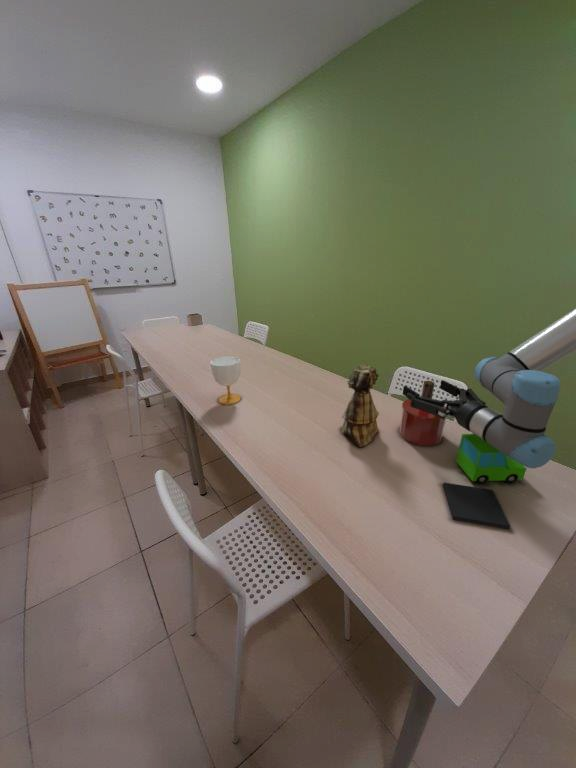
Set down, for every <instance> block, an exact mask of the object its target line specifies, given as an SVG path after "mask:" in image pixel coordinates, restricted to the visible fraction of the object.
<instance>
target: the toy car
mask: <svg viewBox="0 0 576 768" xmlns="http://www.w3.org/2000/svg"><path fill="white" fill-rule="evenodd" d="M455 462H456V463H457V465H459V467H460V468H461V470H462V471H463V472H464V473H465V474H466V475H467V477H468V478H469V479H470V480H471V481H472V482H476V483H477V484H478V485H483V484H485V483H487V482H494V481H505V483H506V484H513V483H515V482H516V481H518V480H523V479H524V476H525V474H526V472H527V469H528V467H525V466H524V465H521V464H520V463H518V462H516V461H514V460H512V459H510V458H509V457H508V456H507V455H505V454H504V453H502V452H501V451H499V450H498V449H496V448H495V447H493V446H492V445H490V444H488V443H487V442H486V441H484V440H483V439H481V438H479V437H478V436H476V435H475V434H473V433H462V434H461V438H460V442H459V446H458V450H457V454H456V458H455Z"/></svg>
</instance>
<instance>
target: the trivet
mask: <svg viewBox="0 0 576 768" xmlns="http://www.w3.org/2000/svg"><path fill="white" fill-rule="evenodd" d="M442 488H443V492H444V494H445V498H446V501H447V504H448V505H447V506H448V508H449V512H450V515H451V519H452V520H453V521H460V522H465V523H469V524H470V523H472V524H477V525H483V526H489V527H494V528H500V529H505V530H510V527H511V525H510V523H509V520H508V519H507V516H506V515H505V512H504V510H503V508H502V507H501V504H500V502H499V500H498V498H497V496H496V494H495V492H494V490H493V489H489V488H483V487H478V486H477V487H476V486H470V485H463V484H455V483H449V482H443V483H442Z"/></svg>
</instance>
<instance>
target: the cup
mask: <svg viewBox="0 0 576 768" xmlns="http://www.w3.org/2000/svg"><path fill="white" fill-rule="evenodd" d="M209 363H210V368H211V372H212V376H213V379H214V381H215V382H216V384H218V385H220V386H223V387H226V390H227V394H225V395H223V396H220V397H219V398H218V402H219V403H220V404H222V405H234V404H236V403H238V402H239V401H241V396H240V395H238V394H232V393H231V386H233V385H235V384H237V382H238V381H239V379H240V377H241V359H240V358H239V357H236V356H220V357H216V358H214V359H212V360H210V362H209Z"/></svg>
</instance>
